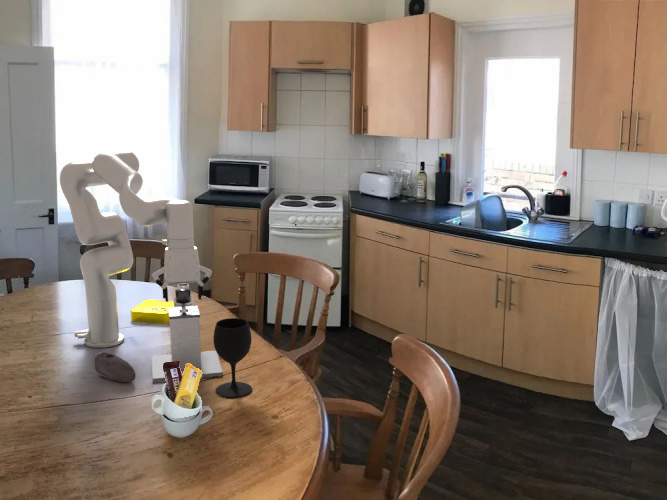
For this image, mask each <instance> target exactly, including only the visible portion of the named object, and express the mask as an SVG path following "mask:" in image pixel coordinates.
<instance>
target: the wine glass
mask: <svg viewBox="0 0 667 500" xmlns="http://www.w3.org/2000/svg"><path fill="white" fill-rule="evenodd" d="M251 332H252V331H251V328H250V325H249V322H248V321H247V320H246V319H243V318H237V317H230V318H223V319H220V320H218V321H216V323H215V327H214V331H213V346H214V351H216V352H217V354H218V357H220V358H221V359H222V360H223V361H225V363H228V364H229V365H230V370H231V381H230V382H225V383H221V384H220V385H218V386H217V387H216V388H215V394H216V393H217V394H218V395H220V396H219V397H221V396H222V397H221V398H224V397H226V398H225V399H239V398H238V397H240V398H244V397H247V396H248V395H250V394H251V393H252V392H253V387H252V385H251V384H249V383H247V382H242V381H237V380H236V366H237V364H238V363H239V362H241V361H242V360H243V359H245V358H246V356H247V355H248V354H249V352H250V350H251V346H252V333H251ZM217 394H216V395H217ZM218 395H217V396H218ZM246 395H247V396H246ZM243 396H244V397H243Z"/></svg>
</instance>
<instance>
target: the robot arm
mask: <svg viewBox="0 0 667 500" xmlns="http://www.w3.org/2000/svg"><path fill="white" fill-rule="evenodd" d="M139 169H140V162H139V159H138V156H136V154H135V153H134V152H132V151H131V150H127V149H121V150H111V151H103V152H101V153H98V154H97V155H95V157H94V158H93V159H82V160H76V161H72V162H69V163H67V164H66V165H64V166H63V167H62V168H61V171H60V174H59V184H60V188H61V191H62V193H63V196H64V197H65V199H66V202H67V203H68V206H69V209H70V214H71V218H72V221H73V224H74V229H75V232H76V236H77V238H78V241H79V242H80V243H81V244H82V245H84V246H93V245H94V246H95V245H98V244H102V243H103V244H104V243H107V244H108V245H107V246H102V247H95V248H91V249H90V250H87V251H85V252H84V253H83V254H82V256H80V259H79V268H80V270H81V274H82V277H83V283H84V290H85V302H86V315H87V326H88V327H87V329H84V330H75V331H74V338H77V339H84V340H83V341H84V345H85V346H86V347H90V348H94V349H95V348H96V349H97V348H99V349H100V348H101V349H102V348H109V347H114V346H115V347H116V346H117V345H119V344H122V343H123V342H124V340H125V336H124V334H123V333H120V330H119V329H120V328H119V327H120V326H119V315H118V301H117V289H116V286H115V284H114V282H113V281H111V279H110V276H113V275H116V274H121V273H124V272H127V271H128V270H130V269H131V268H132V267H133V264H134V254H133V250H132V249H133V248H132V245H131V241H130V239H129V235H128V231H127V227H126V224H125V222H124V219H123V218H122V217H121V215H119V214H118V213H116V212H113V211H108V212H107V211H106V212H102V213H101V211H100V209H99V205H98V202H97V200H96V198H95V196H94V195H93V194H92V193H91V192H90V191H89V190H88V189H87V188H88V187H89V188H90V187H97V186H104V185H108V186H109V187H111V189H113V190H114V191H116V193H117V194H119V195H118V198H119V199H118V200H119V204H120V206H121V207H120V208H121V209H122V211H123V212H124V214H125V215H126V216H127V217H128V218H130V219H131V220H132V221H133V222H135V223H136V224H138V225H139V226H143V227H151V226H155V225H160V224H166V235H167V238H166V239H162V245H165V246H166V247H165V250H164V261H163V262H164V263H163V265H164V266H162V267H161V268H159V269H157V270H156V271H154V272H152V274H151V277H152V279H153V281H155V283H156V284H157V285H158V286H159V287H160V288H161V290H162V300H163V299H164V300H166V302H168V301H169V291H168V285H169V284H177V283H178V284H184V283H194V282H196V284H197V298H198V300H202V297H203V296H204V286H205V284H206V283H207V282H208V281H209V279H210V278H211V275H212V274H213V271H212V269H210V268H208V267H206V266H203V265H201V264H200V258H199V251H198V247H197V246H195V241H194V240H195V239H194V238H195V237H194V212H193V211H194V210H193V208H194V207H193V203H191V201H190V200H189V201H188V200H187V199H186V200H184V199H180V200H179V199H178V198H175V197H173V196H163V197H156V198H155V197H154V198H151V199H150V198H149V199H144V200H143V199H142V198H140V197H139V196H138V195H137V194H138V193H139V192H140V190H141V189H142V186H143V182H144V180H143V176H142V175H141V174H140V172H139ZM201 272H203V273H205V275H204V276H203V278H201ZM163 274H164V280H163V281H162V280H161V279H160V278H159V277H160V275H163Z"/></svg>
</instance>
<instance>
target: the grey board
mask: <svg viewBox="0 0 667 500" xmlns="http://www.w3.org/2000/svg"><path fill="white" fill-rule="evenodd" d="M165 362H171V353H170V354H159V355H151V368H152V383H162V382H163V383H164V382H166V381H165V375H164V372H163V363H165ZM199 369H200V370H202V372H203V374H202V377H207V378H212V377H211V376H218V377H223V369H222V366H221V362H220V358H219V355H218V354H217V352H216V350H208V351H205V350H204V351H201V368H199ZM181 371H182V373H183V371H184V369H183V370H181Z"/></svg>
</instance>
